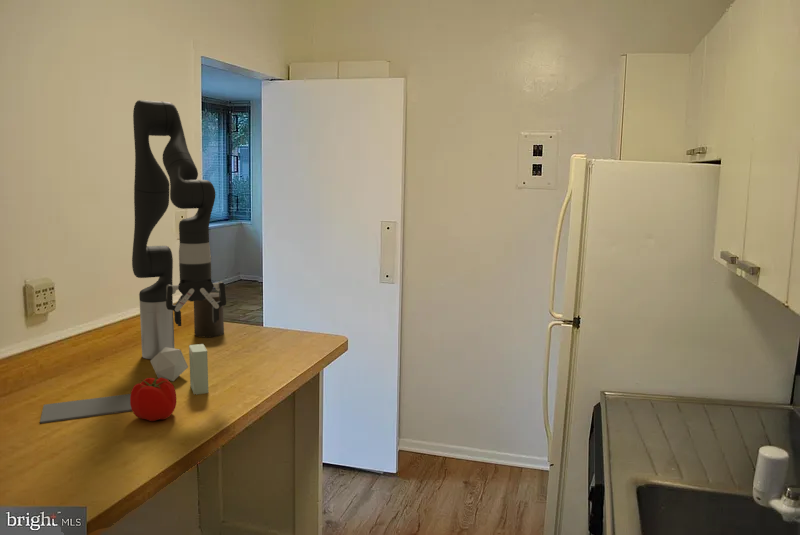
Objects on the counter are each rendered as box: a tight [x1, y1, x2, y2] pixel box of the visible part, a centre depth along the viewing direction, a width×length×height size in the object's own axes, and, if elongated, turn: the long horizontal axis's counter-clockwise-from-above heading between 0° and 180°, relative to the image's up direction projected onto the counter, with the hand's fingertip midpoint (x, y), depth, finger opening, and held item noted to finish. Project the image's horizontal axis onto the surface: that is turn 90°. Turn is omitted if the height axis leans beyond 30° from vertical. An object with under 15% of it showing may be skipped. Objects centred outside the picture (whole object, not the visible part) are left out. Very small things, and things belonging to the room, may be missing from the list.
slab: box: [188, 343, 209, 396], centre depth 159 cm, size 7×4×11 cm, turn 26°
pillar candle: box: [193, 292, 225, 338], centre depth 213 cm, size 10×10×15 cm
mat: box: [39, 393, 133, 424], centre depth 146 cm, size 11×20×1 cm, turn 116°
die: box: [150, 347, 189, 382], centre depth 168 cm, size 8×9×10 cm
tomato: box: [130, 377, 177, 422], centre depth 141 cm, size 11×11×9 cm
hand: (197, 323), depth 158 cm, fingers open, 8 cm apart
